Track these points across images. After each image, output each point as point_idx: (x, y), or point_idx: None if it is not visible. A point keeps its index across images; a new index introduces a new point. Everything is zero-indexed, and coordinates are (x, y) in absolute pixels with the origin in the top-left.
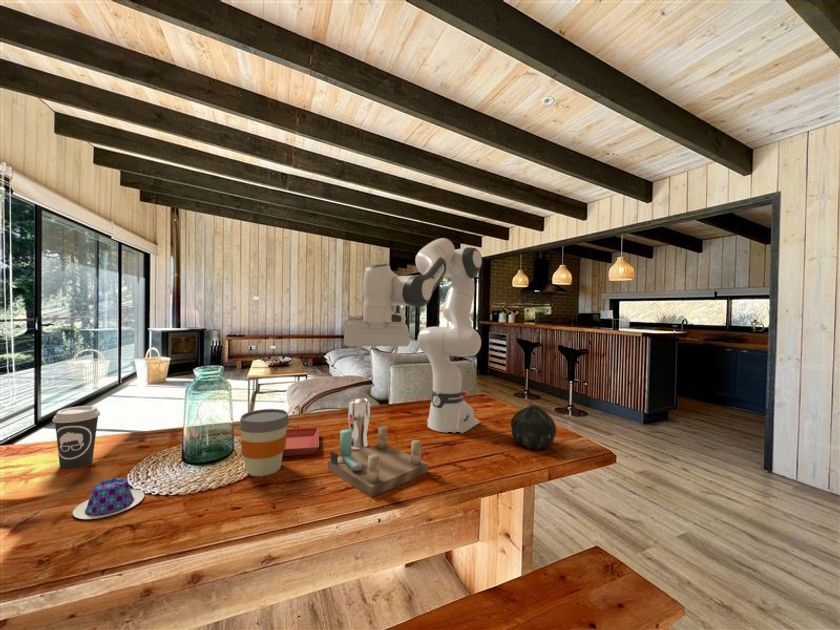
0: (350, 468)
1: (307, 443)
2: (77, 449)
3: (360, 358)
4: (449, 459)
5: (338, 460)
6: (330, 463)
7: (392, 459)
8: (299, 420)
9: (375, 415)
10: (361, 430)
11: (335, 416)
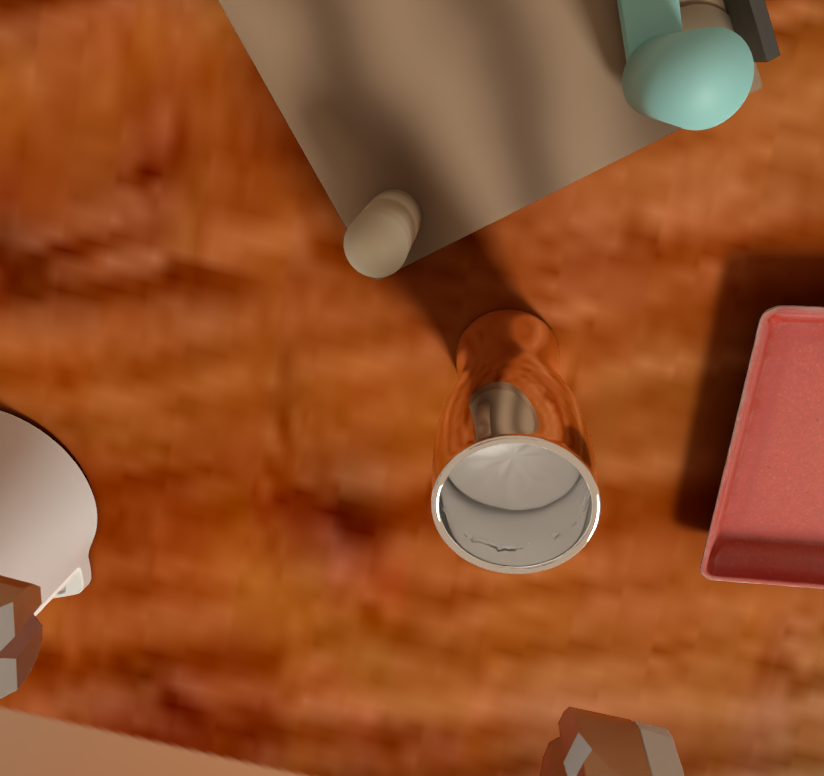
0: None
1: (775, 444)
2: None
3: (654, 756)
4: (27, 51)
5: None
6: None
7: (364, 1)
8: (737, 739)
9: (346, 708)
10: (503, 351)
11: (548, 743)
